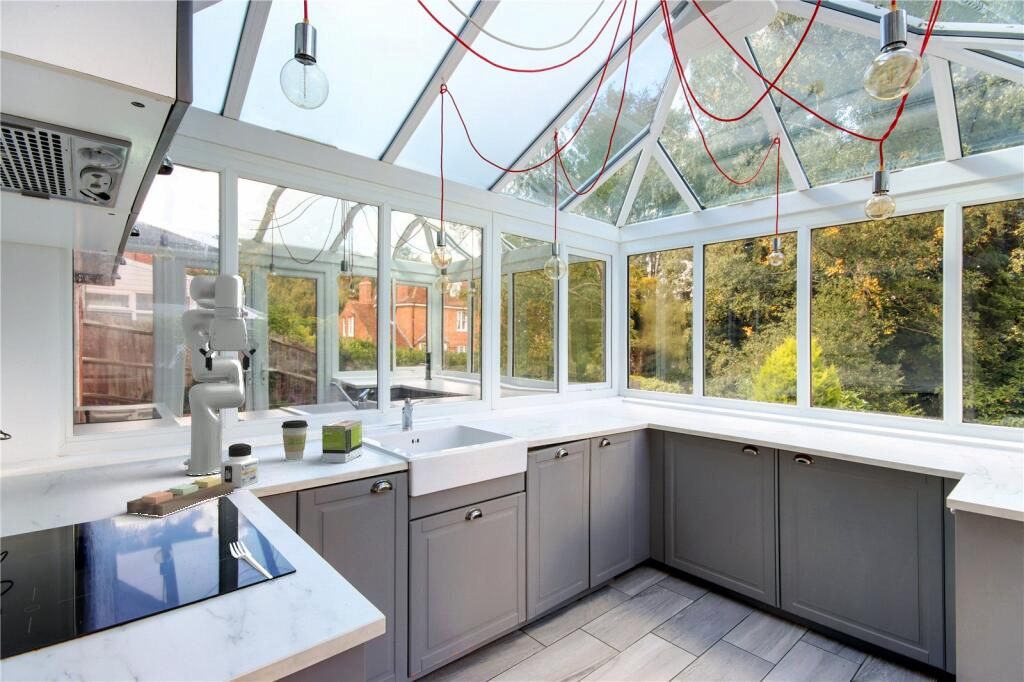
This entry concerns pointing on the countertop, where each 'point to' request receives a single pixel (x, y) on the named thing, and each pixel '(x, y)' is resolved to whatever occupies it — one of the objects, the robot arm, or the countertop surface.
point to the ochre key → (208, 482)
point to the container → (240, 466)
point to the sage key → (184, 489)
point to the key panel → (179, 500)
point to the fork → (248, 558)
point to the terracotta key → (157, 497)
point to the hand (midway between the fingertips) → (227, 370)
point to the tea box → (341, 441)
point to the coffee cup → (294, 438)
